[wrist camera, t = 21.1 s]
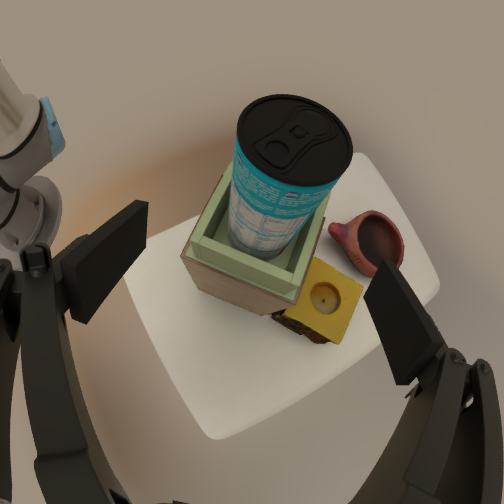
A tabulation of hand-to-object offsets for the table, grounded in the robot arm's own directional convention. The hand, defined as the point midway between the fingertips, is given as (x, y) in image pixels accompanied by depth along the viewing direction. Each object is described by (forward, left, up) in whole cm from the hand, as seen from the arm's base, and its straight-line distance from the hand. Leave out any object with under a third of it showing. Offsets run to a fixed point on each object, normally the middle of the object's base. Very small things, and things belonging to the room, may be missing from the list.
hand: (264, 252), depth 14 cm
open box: (-1, +5, -12) cm, 13 cm away
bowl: (+19, +19, -34) cm, 43 cm away
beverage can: (-1, +5, -12) cm, 13 cm away
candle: (+12, +5, -34) cm, 36 cm away
